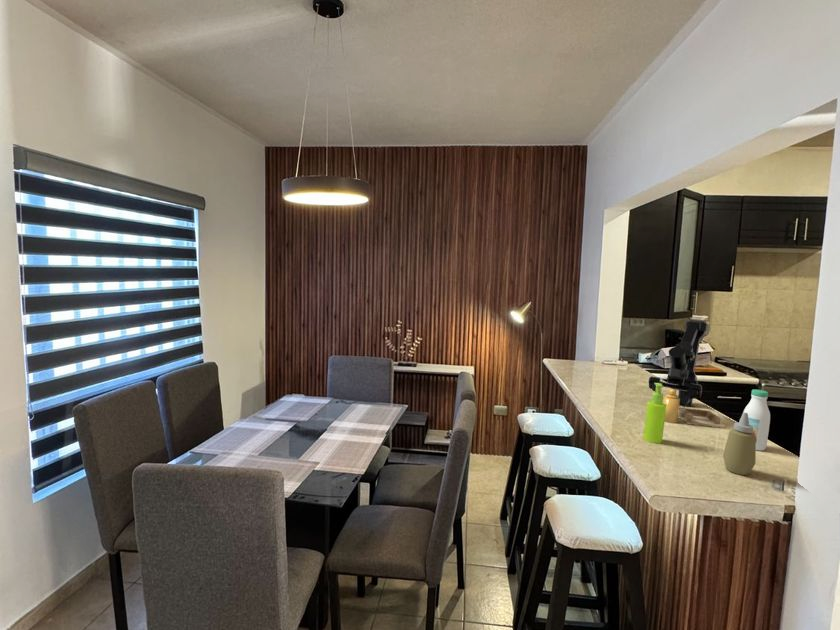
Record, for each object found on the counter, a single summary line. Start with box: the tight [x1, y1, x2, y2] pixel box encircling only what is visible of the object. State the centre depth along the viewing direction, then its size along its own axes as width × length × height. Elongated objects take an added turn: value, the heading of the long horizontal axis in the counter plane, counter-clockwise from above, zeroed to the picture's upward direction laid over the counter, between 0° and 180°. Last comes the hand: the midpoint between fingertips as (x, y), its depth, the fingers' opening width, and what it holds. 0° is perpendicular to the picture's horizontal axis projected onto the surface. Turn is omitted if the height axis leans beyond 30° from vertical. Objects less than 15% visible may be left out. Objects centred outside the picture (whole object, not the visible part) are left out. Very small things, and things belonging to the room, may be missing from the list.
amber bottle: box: [663, 388, 680, 424], centre depth 183 cm, size 6×6×13 cm
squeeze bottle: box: [722, 412, 757, 476], centre depth 137 cm, size 8×8×18 cm
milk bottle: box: [743, 388, 771, 452], centre depth 159 cm, size 8×8×20 cm
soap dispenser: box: [642, 383, 666, 444], centre depth 160 cm, size 6×7×20 cm
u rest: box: [678, 407, 727, 429], centre depth 186 cm, size 14×14×3 cm
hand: (670, 404), depth 182 cm, fingers open, 9 cm apart
